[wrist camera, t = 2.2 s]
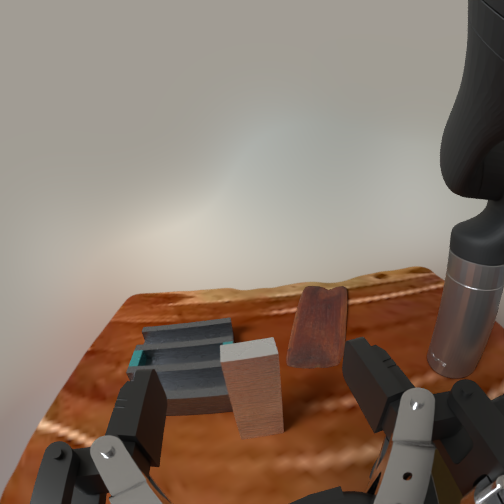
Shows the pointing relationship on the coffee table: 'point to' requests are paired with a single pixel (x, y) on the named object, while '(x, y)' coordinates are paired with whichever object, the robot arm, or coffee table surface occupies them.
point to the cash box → (446, 474)
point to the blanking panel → (254, 386)
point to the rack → (187, 364)
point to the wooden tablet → (319, 328)
